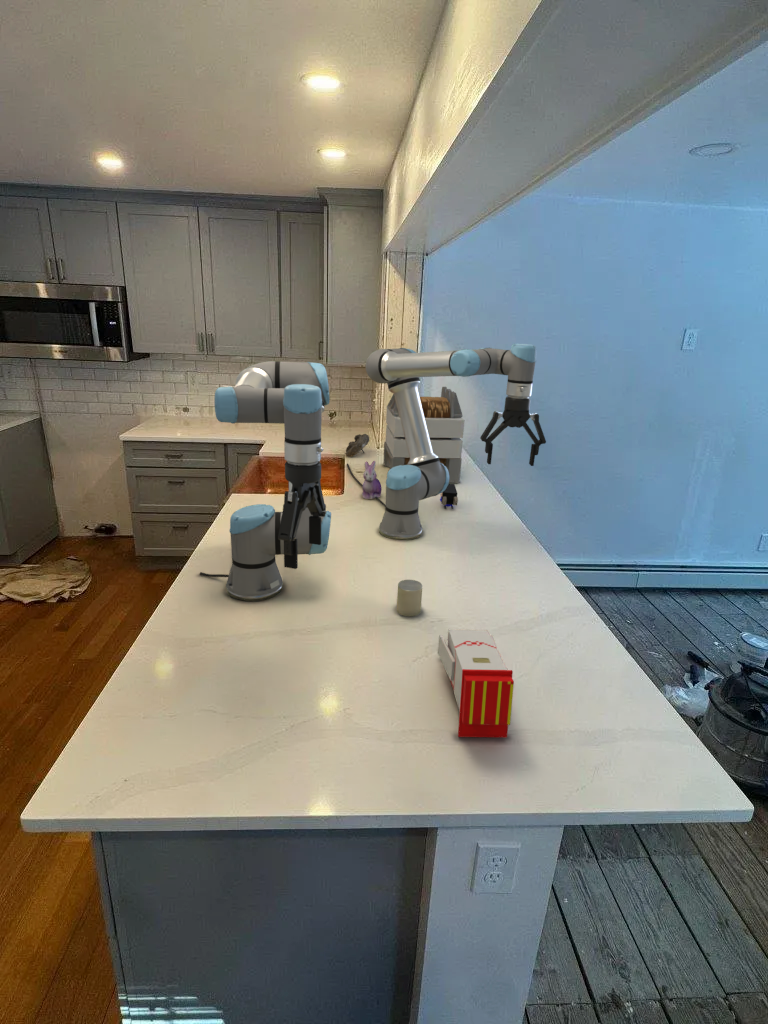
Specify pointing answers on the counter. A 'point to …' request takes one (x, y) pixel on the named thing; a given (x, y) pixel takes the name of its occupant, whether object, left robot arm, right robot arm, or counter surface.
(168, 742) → the counter surface
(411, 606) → the tin
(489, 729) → the toy
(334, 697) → the counter surface
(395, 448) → the grey slatted crate
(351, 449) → the fossil
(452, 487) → the figurine character
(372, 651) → the counter surface
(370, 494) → the figurine
